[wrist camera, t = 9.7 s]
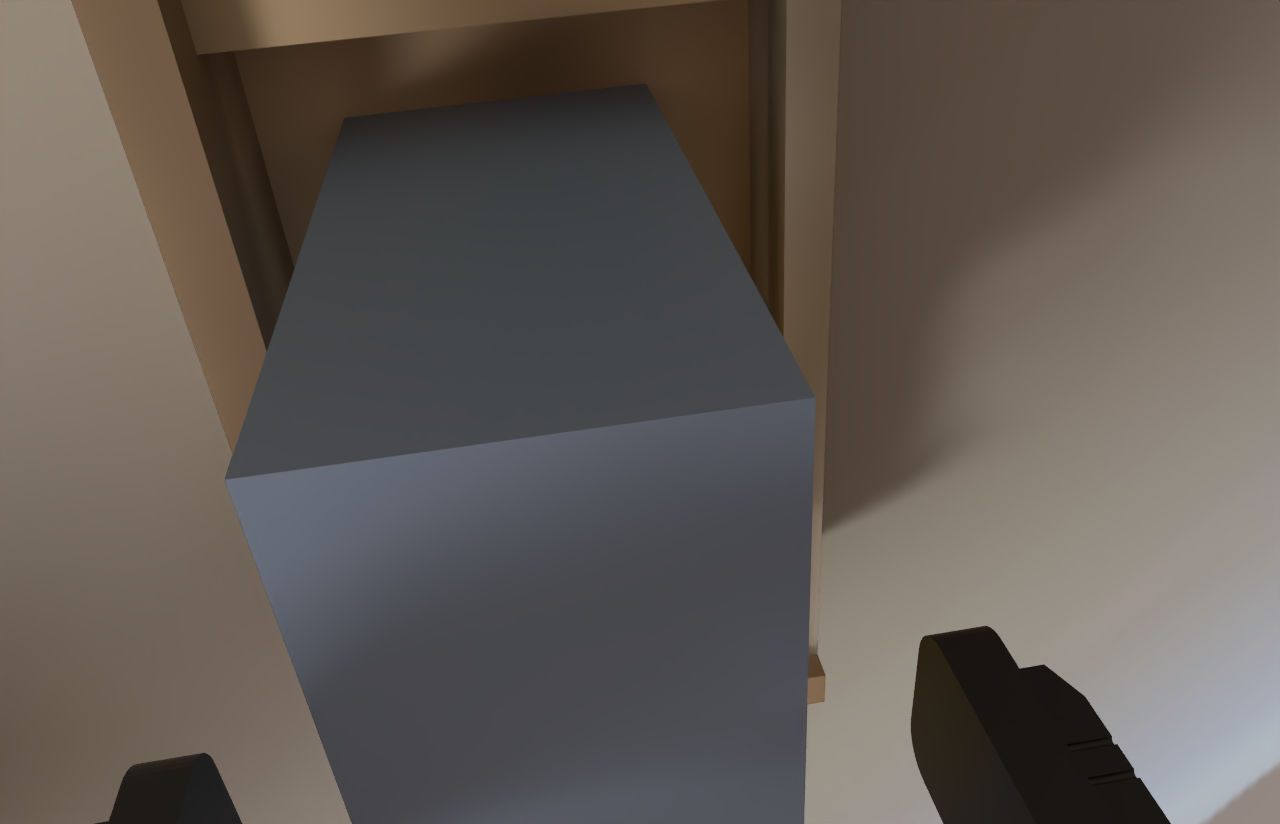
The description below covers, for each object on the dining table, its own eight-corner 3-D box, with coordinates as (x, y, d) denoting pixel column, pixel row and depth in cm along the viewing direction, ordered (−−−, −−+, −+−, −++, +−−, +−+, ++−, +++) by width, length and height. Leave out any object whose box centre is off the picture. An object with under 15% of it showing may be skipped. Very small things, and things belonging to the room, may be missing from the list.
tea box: (442, 537, 22) (427, 1027, 13) (344, 117, 17) (224, 480, 8) (681, 502, 22) (811, 956, 14) (654, 82, 17) (832, 394, 9)
